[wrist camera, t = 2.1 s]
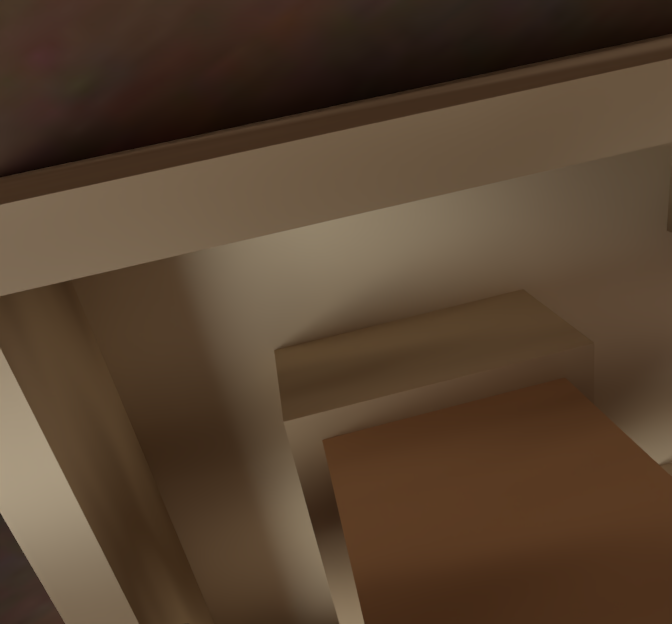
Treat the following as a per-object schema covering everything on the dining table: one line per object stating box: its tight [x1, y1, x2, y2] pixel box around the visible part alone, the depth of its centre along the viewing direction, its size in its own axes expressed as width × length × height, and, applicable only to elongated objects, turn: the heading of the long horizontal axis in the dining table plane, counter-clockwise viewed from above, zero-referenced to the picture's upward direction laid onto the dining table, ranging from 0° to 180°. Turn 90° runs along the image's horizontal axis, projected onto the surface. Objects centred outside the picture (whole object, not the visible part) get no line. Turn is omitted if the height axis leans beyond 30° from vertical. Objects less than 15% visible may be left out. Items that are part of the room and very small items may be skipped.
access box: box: [0, 34, 672, 624], centre depth 11 cm, size 13×13×4 cm
